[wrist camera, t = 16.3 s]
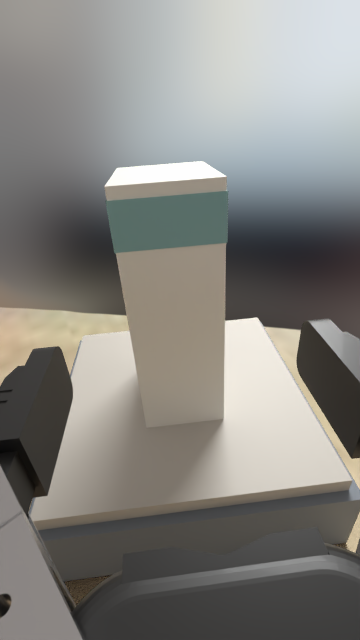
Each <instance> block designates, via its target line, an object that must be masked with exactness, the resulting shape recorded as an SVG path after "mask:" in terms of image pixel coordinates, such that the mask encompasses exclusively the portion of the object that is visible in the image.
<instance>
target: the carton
mask: <svg viewBox="0 0 360 640" xmlns="http://www.w3.org/2000/svg"><path fill="white" fill-rule="evenodd" d="M226 185H227V177H226V176H225V175H223V174H222V173H220V172H219V171H217V170H215V169H214V168H212V167H211V166H209V165H207V164H206V163H204V162H203V161H201V162H200V161H199V162H187V163H174V164H162V165H150V166H137V167H124V168H117V169H116V170H115V172H114V174H113V175H112V176H111V178H110V179H109V181H108V182H107V184H106V185H105V192H106V198H107V200H106V206H107V212H108V218H109V224H110V230H111V235H112V241H113V247H114V252H115V253H116V256H117V262H118V267H119V273H120V279H121V284H122V290H123V296H124V301H125V308H126V313H127V319H128V325H129V331H130V336H131V342H132V348H133V354H134V359H135V365H136V371H137V377H138V382H139V388H140V394H141V400H142V405H143V411H144V417H145V423H146V428H150V427H159V426H168V425H176V424H185V423H194V422H202V421H211V420H220V419H224V356H225V272H226V269H225V268H226V263H225V262H226V243H227V230H228V228H227V227H228V224H227V223H228V191H227V190H226V187H227V186H226Z"/></svg>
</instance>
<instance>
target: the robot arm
mask: <svg viewBox="0 0 360 640" xmlns="http://www.w3.org/2000/svg"><path fill="white" fill-rule="evenodd" d="M297 368H298V372H299V374H300V376H301V378H302V380H303V381H304V383H305V384H306V386H307V388H308V389H309V391H310V392H311V394H312V396H313V397H314V399H315V401H316V402H317V404H318V405H319V407H320V409H321V410H322V412H323V413H324V415H325V417H326V418H327V420H328V421H329V423H330V425H331V426H332V428H333V429H334V431H335V433H336V434H337V436H338V437H339V439H340V441H341V442H342V444H343V446H344V447H345V449H346V450H347V452H348V454H349V455H350V457H351V458H352V459H353V458H360V339H359V338H357V337H355V336H353V335H351V334H349V333H348V332H342V331H341V330H340V329H339V328H338V327H337V326H336V325H335V324H334V323H333V322H332V321H331V320H330V319H321V320H311V321H305V322H304V323H303V325H302V328H301V334H300V340H299V347H298V353H297ZM72 400H73V386H72V381H71V378H70V375H69V372H68V368H67V365H66V362H65V359H64V356H63V353H62V350H61V348H60V347H58V346H57V347H47V348H38V349H33V351H32V352H31V354H30V356H29V358H28V360H27V362H26V364H25V366H18V367H17V368H15V369H14V370H13V371H12V372H11V373H10V374H9V375H8V376H7V377H6V378H5V379H4V381H3V383H2V384H1V386H0V640H360V539H359V543H358V546H357V550H356V553H354V552H351V551H349V550H347V549H344V548H342V547H338V546H335V545H331V544H327V543H324V542H323V539H322V537H321V535H320V532H319V530H318V528H317V527H315V528H307V529H300V530H293V531H285V532H278V533H271V534H269V535H266V536H264V537H262V538H260V539H258V540H256V541H254V542H252V543H250V544H248V545H245V546H243V547H241V548H239V549H237V550H235V551H233V552H231V553H228V554H225V555H218V554H212V553H206V552H200V551H193V550H187V549H181V548H175V547H168V548H161V549H154V550H147V551H139V552H132V553H125V554H123V567H122V570H121V571H119V572H117V573H115V574H113V575H112V576H110V577H108V578H107V579H105V580H104V581H102V582H101V583H100V584H98V585H97V586H96V587H95V588H94V589H92V590H91V591H90V592H89V593H88V594H87V595H86V596H85V597H84V598H83V599H82V600H81V601H80V602H79V603H78V605H77V606H76V604H75V602H74V600H73V598H72V596H71V594H70V592H69V591H68V589H67V587H66V585H65V583H64V581H63V579H62V578H61V576H60V574H59V572H58V570H57V568H56V566H55V564H54V562H53V560H52V558H51V556H50V554H49V552H48V550H47V548H46V546H45V544H44V542H43V540H42V538H41V536H40V534H39V532H38V530H37V528H36V526H35V524H34V522H33V520H32V518H31V516H30V514H29V513H28V511H29V508H30V504H31V501H32V498H35V497H43V496H48V492H49V489H50V485H51V481H52V477H53V473H54V469H55V466H56V462H57V458H58V454H59V450H60V447H61V443H62V439H63V435H64V431H65V427H66V424H67V420H68V416H69V412H70V408H71V405H72Z"/></svg>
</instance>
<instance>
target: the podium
mask: <svg viewBox="0 0 360 640" xmlns="http://www.w3.org/2000/svg"><path fill="white" fill-rule="evenodd" d="M70 378H71V381H72V386H73V400H72V405H71V408H70V412H69V416H68V420H67V424H66V427H65V431H64V435H63V439H62V443H61V447H60V450H59V454H58V458H57V462H56V466H55V469H54V473H53V477H52V481H51V485H50V489H49V492H48V496H43V497H35V498H33V500H32V503H31V507H30V510H29V514H30V516H31V518H32V520H33V522H34V524H35V526H36V528H37V530H38V532H39V534H40V536H41V538H42V540H43V542H44V544H45V546H46V548H47V550H48V552H49V554H50V556H51V558H52V560H53V562H54V564H55V566H56V568H57V570H58V572H59V574H60V576H61V578H62V579H63V581H71V580H78V579H86V578H93V577H100V576H107V575H113V574H115V573H117V572H119V571H121V570H122V567H123V554H125V553H132V552H139V551H147V550H154V549H161V548H168V547H175V548H181V549H187V550H193V551H200V552H206V553H212V554H218V555H225V554H228V553H231V552H233V551H235V550H237V549H239V548H241V547H243V546H245V545H248V544H250V543H252V542H254V541H256V540H258V539H260V538H262V537H264V536H266V535H269V534H271V533H278V532H285V531H293V530H300V529H307V528H315V527H317V528H318V530H319V532H320V535H321V537H322V539H323V542H324V543H327V544H331V545H333V544H340V543H346V542H347V540H348V538H349V535H350V533H351V531H352V528H353V526H354V524H355V521H356V519H357V517H358V514H359V512H360V490H359V488H358V486H357V485H356V483H355V481H354V479H353V478H352V476H351V474H350V473H349V471H348V469H347V468H346V466H345V464H344V463H343V461H342V459H341V457H340V456H339V454H338V452H337V451H336V449H335V447H334V446H333V444H332V442H331V440H330V439H329V437H328V435H327V434H326V432H325V430H324V429H323V427H322V425H321V423H320V422H319V420H318V418H317V417H316V415H315V413H314V412H313V410H312V408H311V406H310V405H309V403H308V401H307V400H306V398H305V396H304V395H303V393H302V391H301V389H300V388H299V386H298V384H297V383H296V381H295V379H294V378H293V376H292V374H291V372H290V371H289V369H288V367H287V366H286V364H285V362H284V361H283V359H282V357H281V355H280V354H279V352H278V350H277V349H276V347H275V345H274V344H273V342H272V340H271V338H270V337H269V335H268V333H267V332H266V330H265V328H264V327H263V325H262V323H261V322H260V321H259V319H258V318H250V319H240V320H230V321H225V356H224V419H220V420H211V421H202V422H194V423H185V424H176V425H168V426H159V427H150V428H146V423H145V417H144V411H143V405H142V400H141V394H140V388H139V382H138V377H137V371H136V365H135V359H134V354H133V348H132V342H131V336H130V331H123V332H114V333H104V334H94V335H85V336H83V339H82V341H80V344H79V347H78V351H77V354H76V357H75V361H74V364H73V367H72V371H71V374H70Z"/></svg>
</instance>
